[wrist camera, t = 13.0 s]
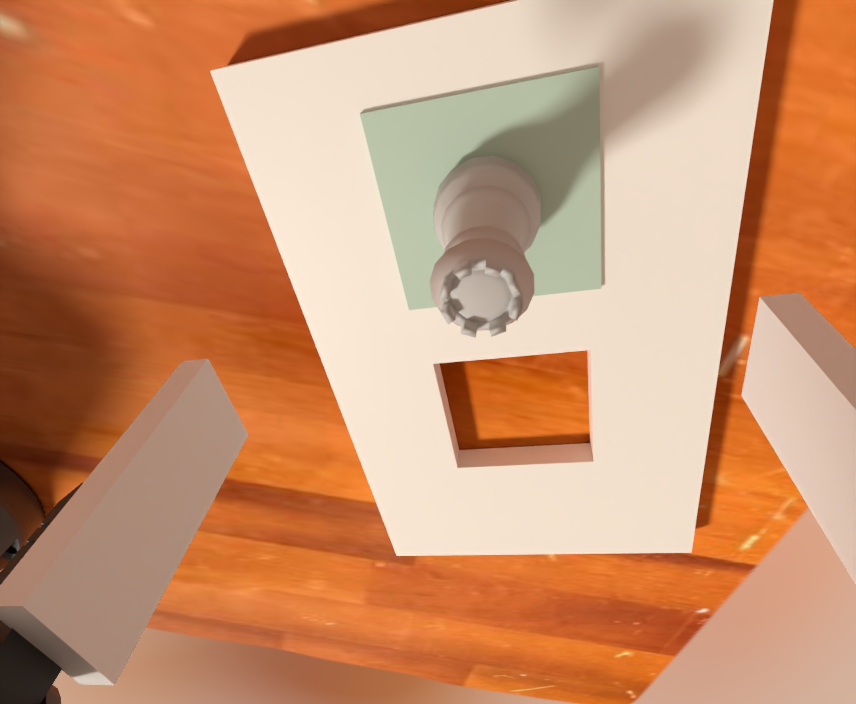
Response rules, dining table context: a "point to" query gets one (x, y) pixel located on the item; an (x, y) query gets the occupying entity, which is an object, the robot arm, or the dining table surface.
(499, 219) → the rook chess piece
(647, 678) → the dining table surface
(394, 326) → the hole board
